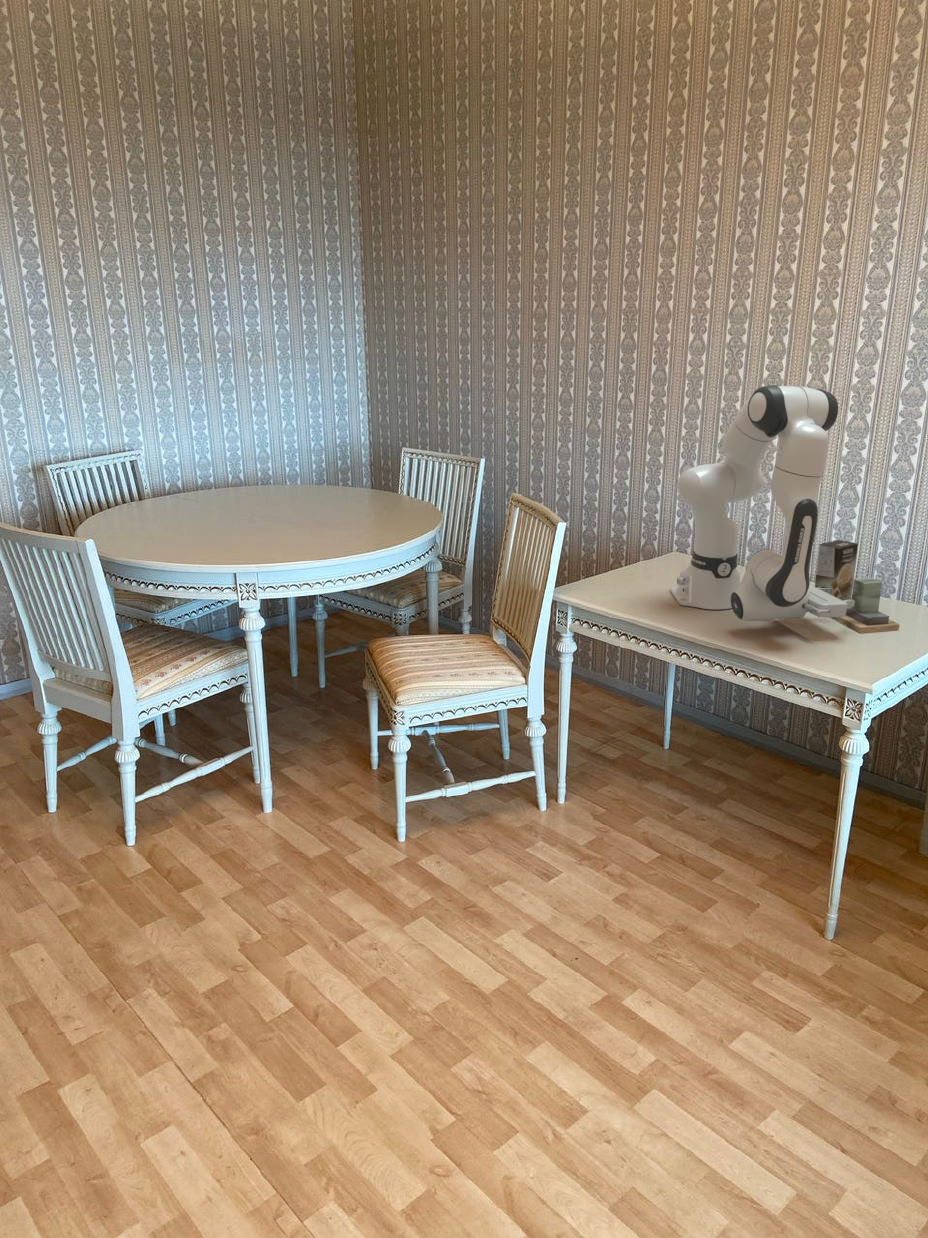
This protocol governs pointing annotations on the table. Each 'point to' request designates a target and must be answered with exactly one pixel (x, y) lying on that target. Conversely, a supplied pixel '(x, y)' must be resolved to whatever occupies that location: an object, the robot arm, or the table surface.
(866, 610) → the block
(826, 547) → the coffee box
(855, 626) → the pine board
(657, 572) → the table surface
